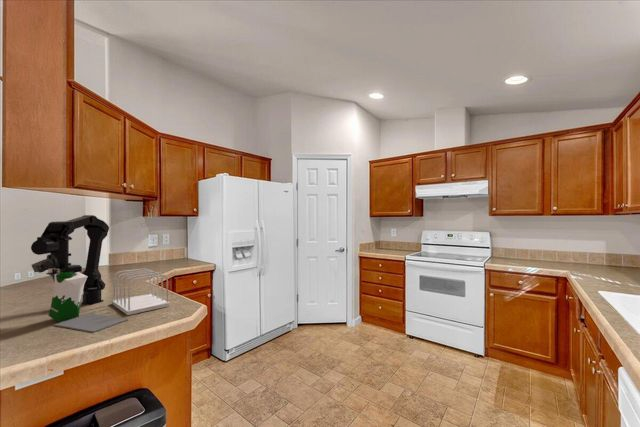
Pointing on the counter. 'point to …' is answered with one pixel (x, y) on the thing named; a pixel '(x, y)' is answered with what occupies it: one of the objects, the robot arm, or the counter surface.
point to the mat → (91, 322)
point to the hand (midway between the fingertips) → (59, 288)
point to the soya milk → (67, 295)
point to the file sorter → (143, 301)
